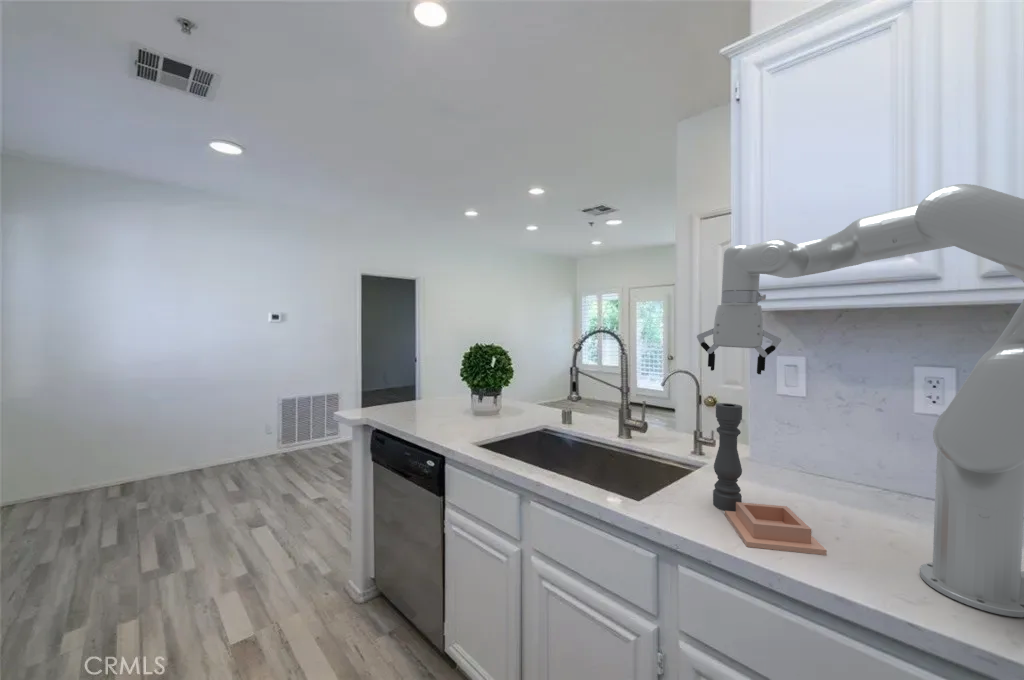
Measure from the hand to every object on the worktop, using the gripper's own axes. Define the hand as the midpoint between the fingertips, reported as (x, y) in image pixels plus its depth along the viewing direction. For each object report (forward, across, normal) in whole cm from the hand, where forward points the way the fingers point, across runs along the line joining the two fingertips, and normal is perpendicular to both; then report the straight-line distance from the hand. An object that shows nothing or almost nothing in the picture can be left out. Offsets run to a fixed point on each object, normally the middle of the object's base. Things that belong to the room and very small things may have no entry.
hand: (735, 371), depth 94 cm
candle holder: (+34, 0, -2) cm, 34 cm away
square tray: (+33, -8, +8) cm, 35 cm away
